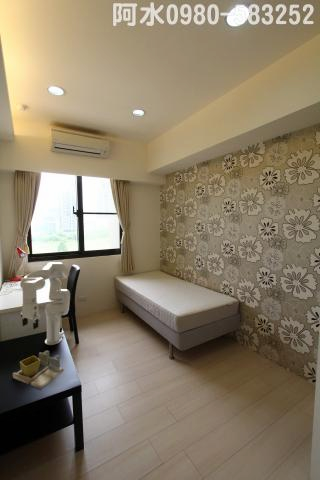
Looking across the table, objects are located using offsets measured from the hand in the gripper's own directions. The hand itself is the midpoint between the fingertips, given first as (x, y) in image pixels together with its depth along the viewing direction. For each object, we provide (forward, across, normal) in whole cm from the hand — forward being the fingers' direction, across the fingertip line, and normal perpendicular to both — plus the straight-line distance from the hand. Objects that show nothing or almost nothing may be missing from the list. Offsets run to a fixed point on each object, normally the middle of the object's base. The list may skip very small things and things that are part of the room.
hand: (30, 326), depth 140 cm
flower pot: (+31, -2, +2) cm, 31 cm away
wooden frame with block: (+30, -1, -2) cm, 30 cm away
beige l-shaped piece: (+30, -14, 0) cm, 33 cm away
